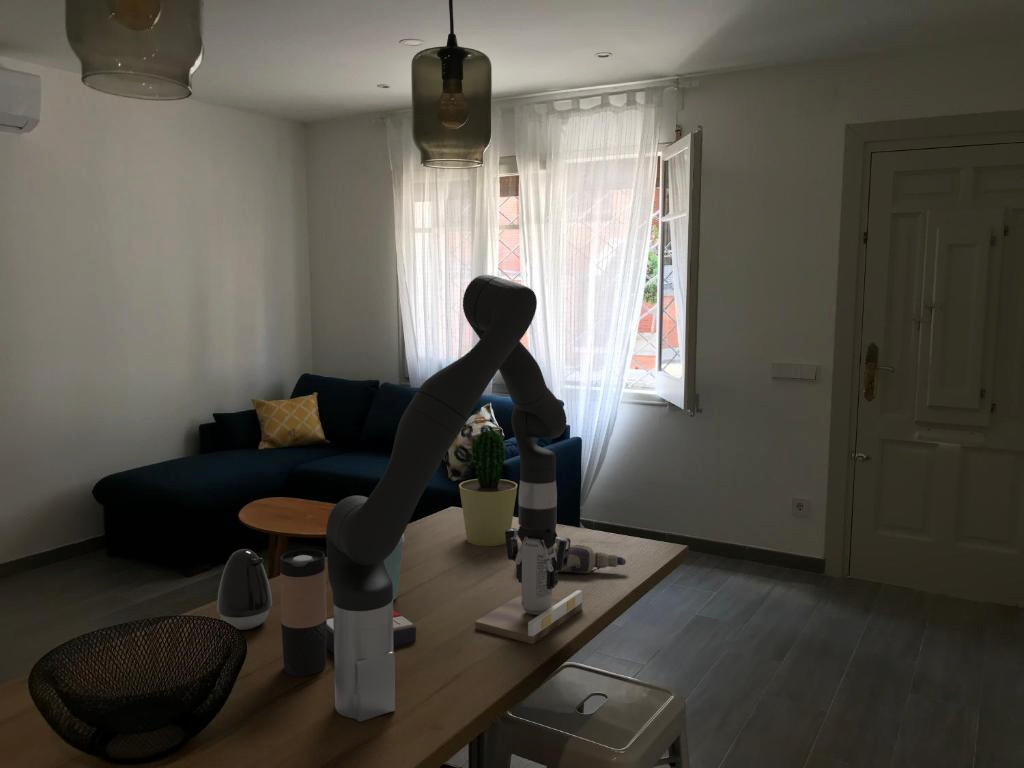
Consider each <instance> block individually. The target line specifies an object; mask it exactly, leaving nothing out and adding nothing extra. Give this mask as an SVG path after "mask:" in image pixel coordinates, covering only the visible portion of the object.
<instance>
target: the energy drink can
mask: <svg viewBox="0 0 1024 768" xmlns="http://www.w3.org/2000/svg"><path fill="white" fill-rule="evenodd" d="M525 537H526V536H525ZM526 539H527V540H526V542H525V543H523V545H522V583H521V594H522V604H521V605H522V607H523V608H524V611H525V612H527V613H529V614H536V615H537V614H542V613H543V612H545V611H546V610H548V609H549V608H551V606H552V596H553V589H551V590H550V589H547V571H549V570H548V568H547V565H546V561H544V549H543V547H542V546H540V545H539V543H538V540H536V539H535V538H530V539H528V538H526ZM541 541H542V542H543V544H544V540H541ZM544 548H545V550H546V551H547V554H548V555H550V554H552V547H550V548H549V549H547V548H546V546H545V544H544ZM551 560H552V558H551Z"/></svg>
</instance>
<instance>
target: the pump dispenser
mask: <svg viewBox="0 0 1024 768" xmlns="http://www.w3.org/2000/svg"><path fill="white" fill-rule="evenodd" d="M264 561H265V560H264V557H259V556H258V555H257V553H255V552H254V551H253V550H251V549H247V548H242V549H238V550H236V551H234V552H232V554H231V555H230V556H229V559H228V560H227V562H226V564H225V566H224V569H223V573H222V575H221V579H220V583H219V586H218V587H219V588H218V593H217V601H216V602H217V603H216V604H217V606H216V608H217V610H216V611H217V613H218V614H219V617H220V618H221V621H222V620H224V621H226V622H227V623H229V624H231V625H233V626H234V627H236V628H237V629H239V630H238V631H245V630H251V629H254V628H256V627H259V626H260V625H262V624H263V623H264V622H265V621H266V620H267V618H268V616H269V614H270V611H271V610H270V609H271V607H272V606H273V599H272V598H273V597H272V591H271V586H270V582H269V579H268V576H267V573H266V570H265V567H264V565H263V563H264ZM237 629H236V630H237Z"/></svg>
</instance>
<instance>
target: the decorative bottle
mask: <svg viewBox="0 0 1024 768" xmlns="http://www.w3.org/2000/svg"><path fill="white" fill-rule="evenodd" d="M521 545H522V542H521V541H518V551H519V549H520V547H521ZM553 547H554V549H555V552H556V558H557V556H558V549H557V544H556V543H555V544H554V545H553ZM626 562H627V561H626V559H625V558H624V557H622V556H618V555H616V554H608V553H605V552H602V551H598V552H595V551H594V550H593V549H592V547H591V546H590V545H580V544H578V545H577V544H570V549H569V556H568V563H567V566H566V567H564V568H563V569H561V570H558V573H561V572H563V573H575V574H581V575H583V574H582V573H589V574H591V573H593V572H595V571H596V570H600V569H606V568H607V567H610V568H616V567H617V566H624V565H626ZM594 568H595V569H594ZM515 569H516V570H517V565H516V564H515Z"/></svg>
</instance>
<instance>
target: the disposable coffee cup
mask: <svg viewBox="0 0 1024 768" xmlns="http://www.w3.org/2000/svg"><path fill="white" fill-rule="evenodd" d="M404 533H405V532H404ZM404 533H403V535H402V537H401V539H400V541H399V543H398V545H397V546H396V548H395V549H394V551H393V552H392V553H391V554H390V555H389V556H388V557H387V558H386V559H385V560H384V564H385V568H386V570H387V573H388V575H389V577H390V579H391V581H392V585H393V601H395V600H396V599H397V596H398V592H399V586H400V585H399V583H400V576H401V575H400V574H401V564H402V556H403V548H404V547H403V546H404V545H403V544H404V541H405V535H404Z"/></svg>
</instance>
